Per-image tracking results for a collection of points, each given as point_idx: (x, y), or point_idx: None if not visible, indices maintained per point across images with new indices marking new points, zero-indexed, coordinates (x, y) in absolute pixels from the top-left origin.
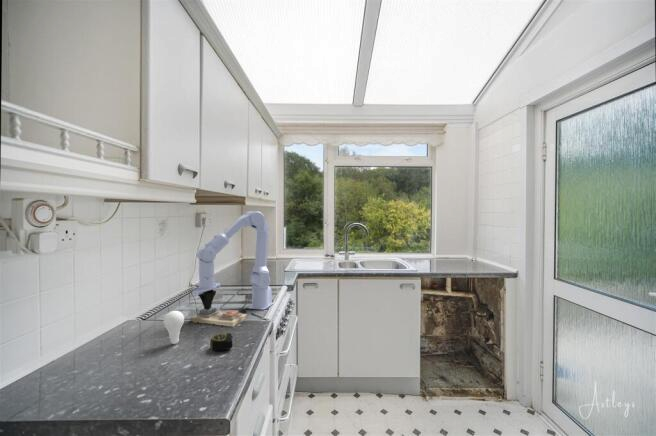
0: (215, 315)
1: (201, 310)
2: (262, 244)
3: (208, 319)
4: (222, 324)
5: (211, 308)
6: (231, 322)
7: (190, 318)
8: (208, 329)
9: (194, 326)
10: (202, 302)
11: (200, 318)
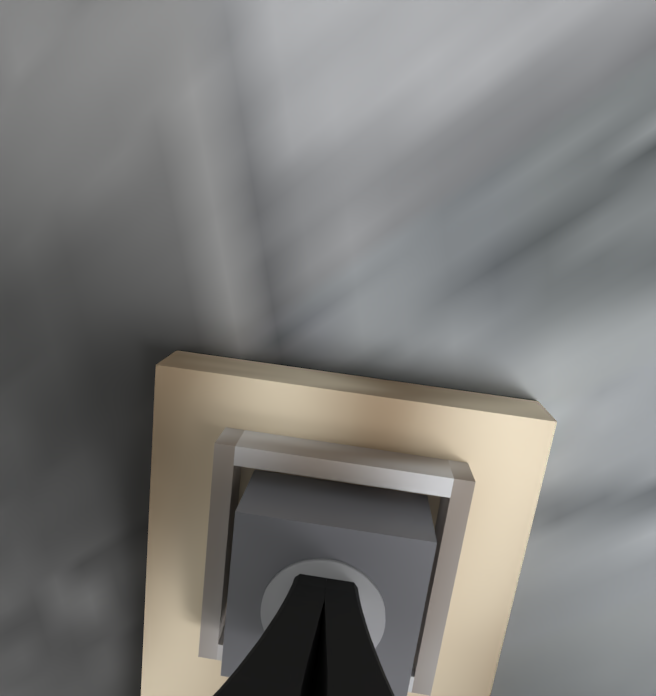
0: None
1: (246, 542)
2: None
3: (161, 646)
4: None
5: (376, 651)
6: None
7: (156, 373)
8: (26, 686)
9: (55, 500)
10: (240, 664)
11: (173, 527)
